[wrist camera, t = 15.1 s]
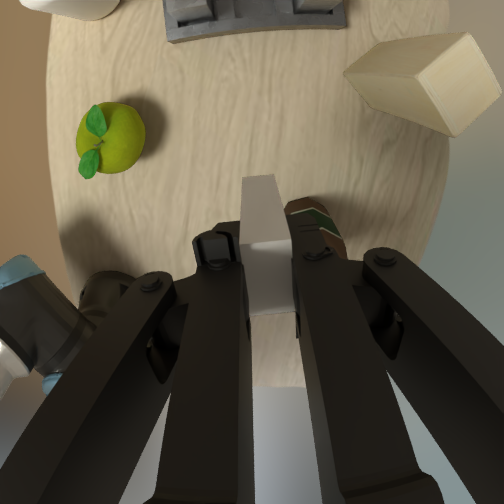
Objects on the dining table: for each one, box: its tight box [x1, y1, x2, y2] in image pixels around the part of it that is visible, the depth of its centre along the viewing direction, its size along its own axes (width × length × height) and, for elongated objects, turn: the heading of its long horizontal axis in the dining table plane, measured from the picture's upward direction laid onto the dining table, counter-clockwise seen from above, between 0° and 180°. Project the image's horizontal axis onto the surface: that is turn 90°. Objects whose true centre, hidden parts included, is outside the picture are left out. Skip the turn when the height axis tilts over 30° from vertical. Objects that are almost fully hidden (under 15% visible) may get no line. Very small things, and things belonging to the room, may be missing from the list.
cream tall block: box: [343, 32, 502, 138], centre depth 28 cm, size 8×7×21 cm
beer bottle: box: [284, 197, 348, 260], centre depth 38 cm, size 8×8×24 cm
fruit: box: [76, 102, 146, 179], centre depth 36 cm, size 9×9×10 cm
